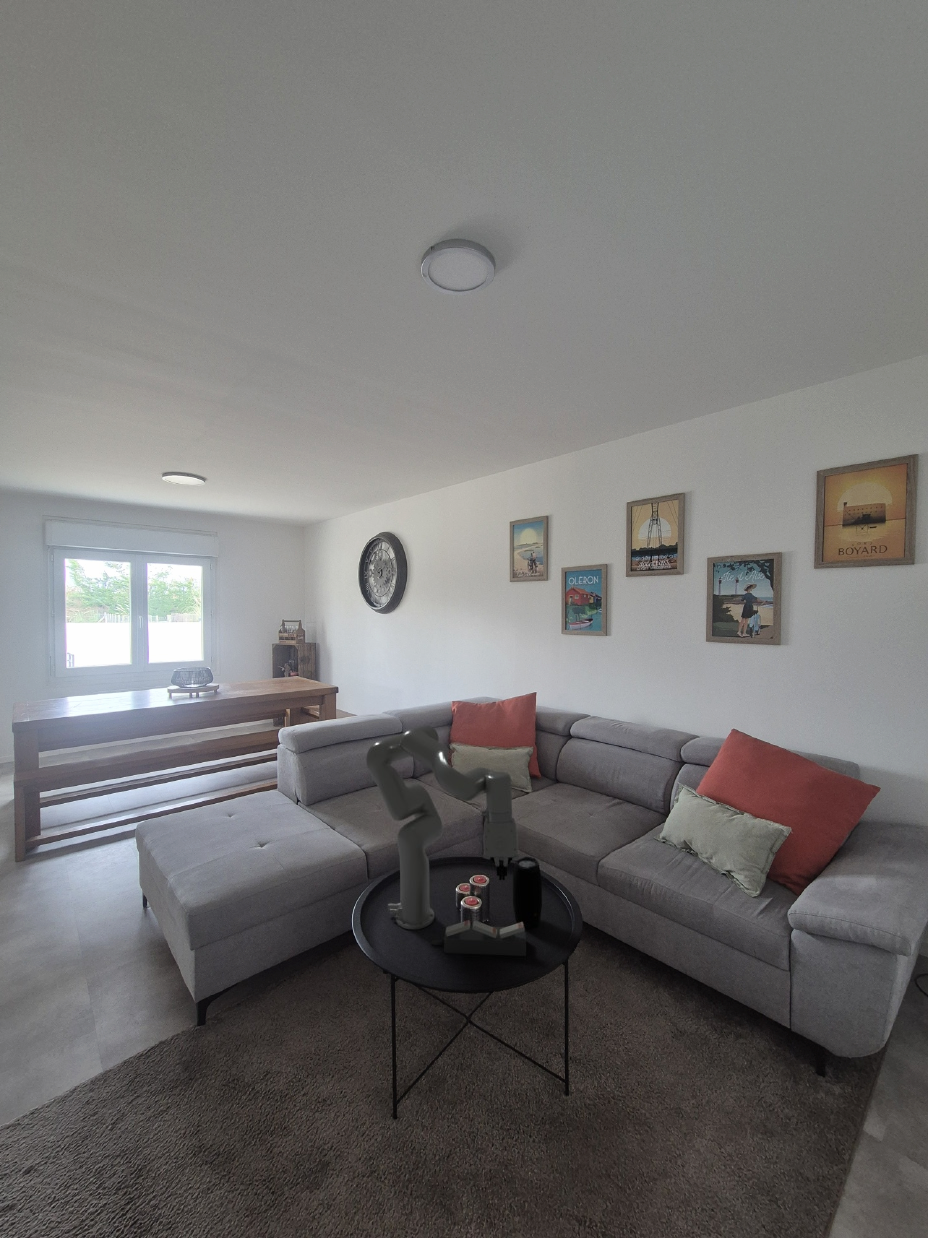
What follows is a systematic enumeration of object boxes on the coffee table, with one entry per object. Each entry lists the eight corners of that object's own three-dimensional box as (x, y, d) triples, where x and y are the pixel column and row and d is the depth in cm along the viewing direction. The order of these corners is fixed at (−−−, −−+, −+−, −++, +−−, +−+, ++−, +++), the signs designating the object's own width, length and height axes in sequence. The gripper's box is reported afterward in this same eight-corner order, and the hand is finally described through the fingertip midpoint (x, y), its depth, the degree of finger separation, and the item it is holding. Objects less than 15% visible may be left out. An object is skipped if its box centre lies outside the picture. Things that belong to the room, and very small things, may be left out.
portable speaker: (544, 929, 158) (544, 867, 158) (515, 931, 157) (514, 869, 157) (538, 914, 167) (538, 855, 167) (510, 915, 166) (510, 856, 166)
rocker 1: (447, 936, 148) (445, 932, 148) (447, 931, 151) (446, 927, 151) (469, 929, 147) (468, 925, 147) (470, 923, 150) (468, 919, 150)
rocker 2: (472, 929, 147) (474, 925, 147) (473, 924, 150) (474, 920, 150) (495, 938, 147) (497, 934, 147) (495, 933, 149) (497, 929, 149)
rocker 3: (501, 938, 147) (499, 934, 147) (501, 933, 149) (499, 929, 149) (524, 931, 146) (522, 926, 146) (523, 925, 149) (522, 921, 149)
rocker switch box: (430, 952, 148) (430, 934, 148) (433, 937, 155) (433, 920, 155) (526, 956, 146) (525, 938, 146) (524, 940, 153) (524, 923, 153)
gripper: (473, 820, 145) (475, 884, 145) (525, 820, 144) (527, 884, 143) (475, 811, 153) (477, 871, 152) (524, 810, 151) (527, 872, 151)
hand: (502, 878), depth 148 cm, fingers closed
